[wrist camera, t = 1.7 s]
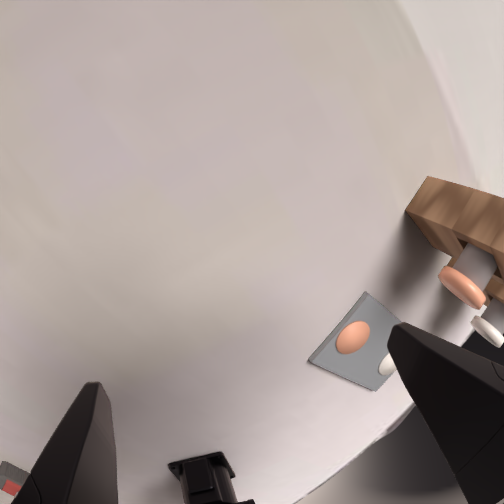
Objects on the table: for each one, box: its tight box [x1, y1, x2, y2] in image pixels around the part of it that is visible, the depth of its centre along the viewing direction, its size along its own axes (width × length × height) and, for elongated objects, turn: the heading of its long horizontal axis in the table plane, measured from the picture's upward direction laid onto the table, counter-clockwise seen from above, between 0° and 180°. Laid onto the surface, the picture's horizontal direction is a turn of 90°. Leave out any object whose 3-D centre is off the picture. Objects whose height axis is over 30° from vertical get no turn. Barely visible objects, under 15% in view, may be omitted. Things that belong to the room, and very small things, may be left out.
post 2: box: [447, 257, 504, 307], centre depth 26 cm, size 4×6×11 cm, turn 51°
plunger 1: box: [438, 243, 498, 310], centre depth 20 cm, size 7×4×4 cm, turn 141°
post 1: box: [405, 176, 504, 285], centre depth 21 cm, size 4×6×11 cm, turn 51°
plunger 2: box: [470, 297, 504, 348], centre depth 24 cm, size 7×4×4 cm, turn 141°
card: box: [309, 291, 402, 392], centre depth 30 cm, size 8×12×1 cm, turn 51°
